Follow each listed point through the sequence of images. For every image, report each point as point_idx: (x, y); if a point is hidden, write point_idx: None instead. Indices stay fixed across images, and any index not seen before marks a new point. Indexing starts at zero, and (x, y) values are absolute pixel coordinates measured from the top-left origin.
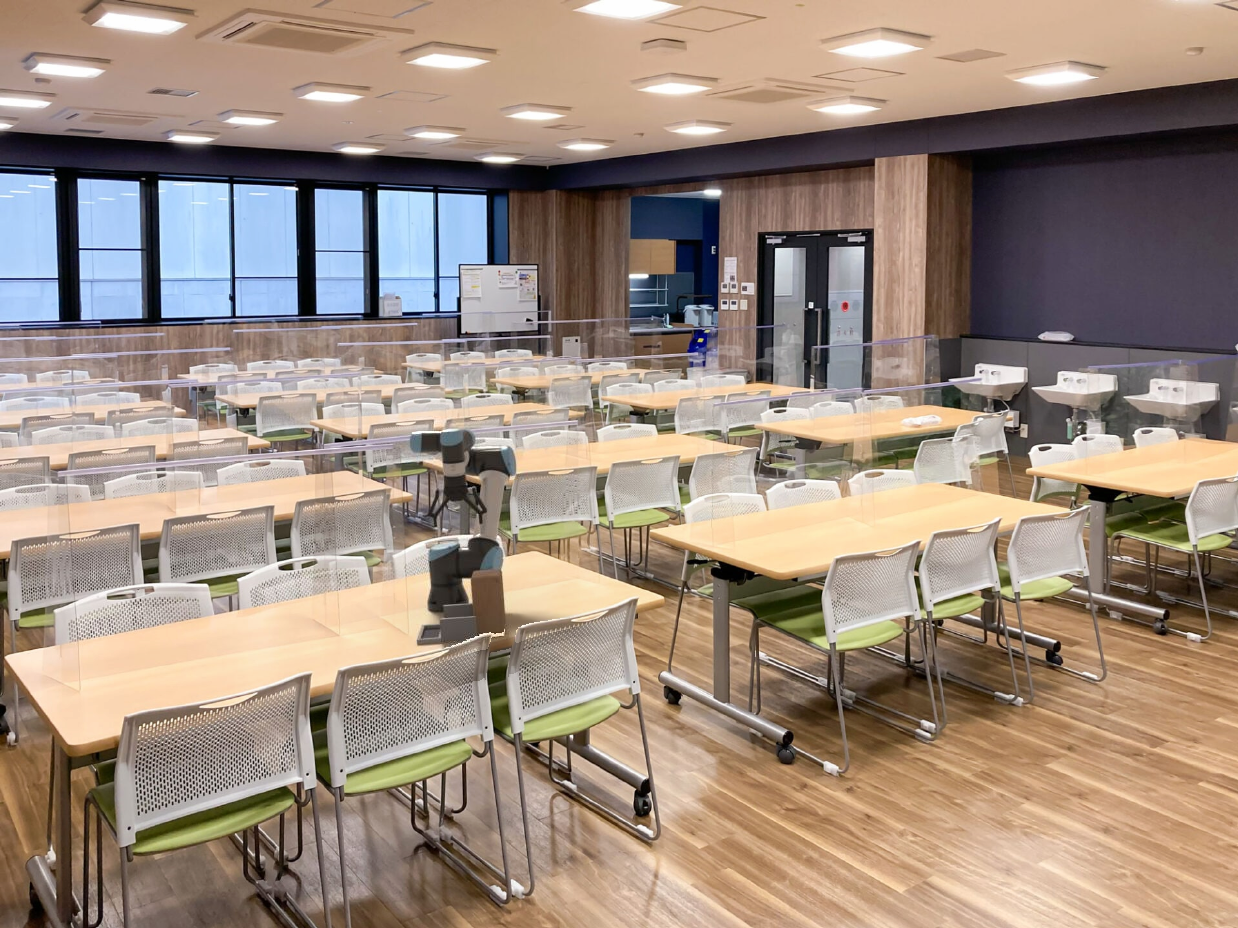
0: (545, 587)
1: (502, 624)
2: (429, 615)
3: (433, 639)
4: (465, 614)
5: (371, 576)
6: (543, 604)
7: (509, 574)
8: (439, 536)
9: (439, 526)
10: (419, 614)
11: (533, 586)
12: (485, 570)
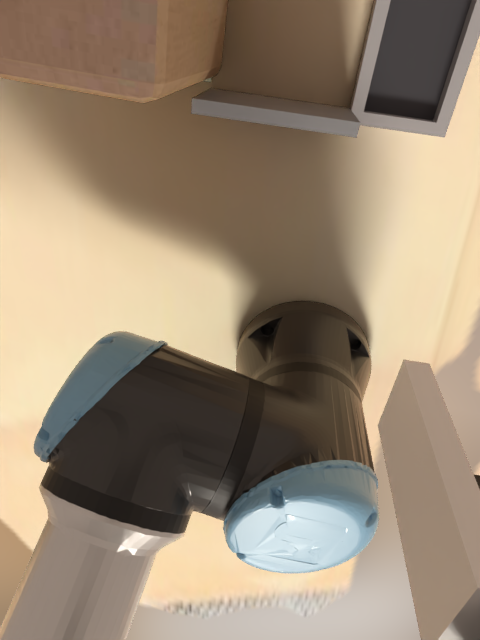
0: (24, 402)
1: None
2: (377, 287)
3: None
4: (260, 102)
5: None
6: (2, 259)
7: None
8: (412, 364)
9: (430, 462)
10: (408, 309)
11: None
12: (63, 55)
